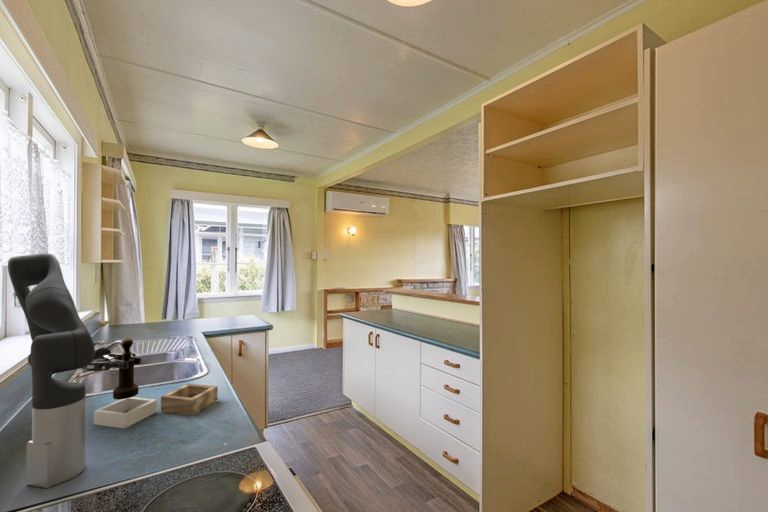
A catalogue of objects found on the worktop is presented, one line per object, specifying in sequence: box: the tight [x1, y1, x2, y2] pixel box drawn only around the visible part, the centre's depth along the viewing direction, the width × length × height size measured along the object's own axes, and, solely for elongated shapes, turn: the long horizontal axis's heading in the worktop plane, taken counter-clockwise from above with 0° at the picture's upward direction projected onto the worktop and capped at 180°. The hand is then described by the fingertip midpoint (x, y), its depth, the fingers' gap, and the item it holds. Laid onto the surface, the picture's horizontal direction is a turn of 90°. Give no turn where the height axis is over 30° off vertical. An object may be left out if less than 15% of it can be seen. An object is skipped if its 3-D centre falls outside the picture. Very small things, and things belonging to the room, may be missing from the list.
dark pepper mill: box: [112, 338, 139, 400], centre depth 111 cm, size 7×6×18 cm
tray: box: [93, 396, 158, 429], centre depth 111 cm, size 11×11×4 cm
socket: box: [160, 383, 219, 416], centre depth 120 cm, size 12×12×5 cm
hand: (133, 363), depth 111 cm, fingers closed on dark pepper mill, 3 cm apart
